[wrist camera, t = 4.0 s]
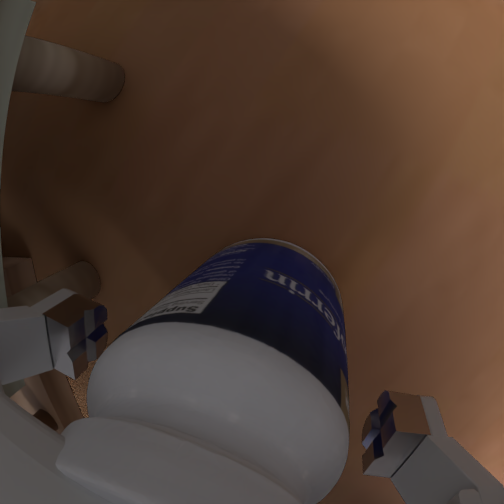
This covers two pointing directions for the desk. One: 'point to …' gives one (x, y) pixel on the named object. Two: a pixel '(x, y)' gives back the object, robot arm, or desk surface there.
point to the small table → (51, 83)
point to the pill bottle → (222, 389)
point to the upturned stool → (47, 383)
